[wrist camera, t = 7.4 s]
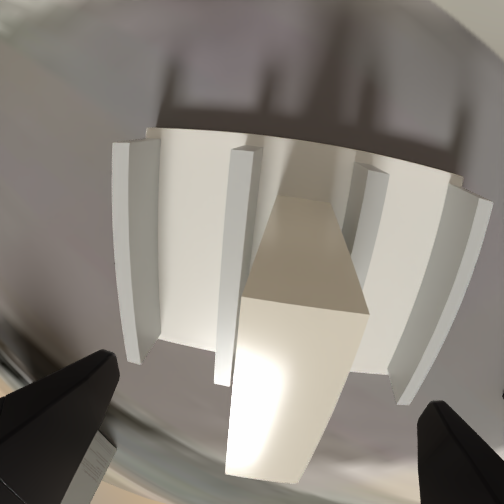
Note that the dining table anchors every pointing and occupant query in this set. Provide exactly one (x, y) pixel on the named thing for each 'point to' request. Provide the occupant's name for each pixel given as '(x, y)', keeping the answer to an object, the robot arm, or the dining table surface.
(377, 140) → the dining table surface
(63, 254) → the dining table surface
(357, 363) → the rack
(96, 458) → the supplement box
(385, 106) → the dining table surface
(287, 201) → the cream rectangular tile
